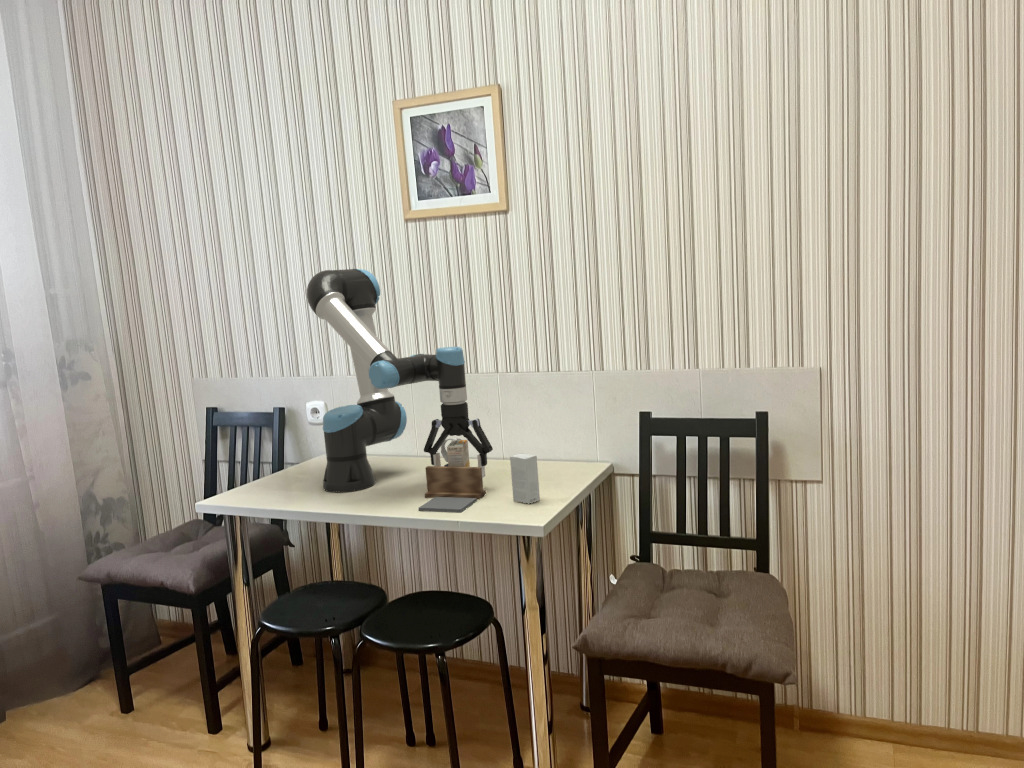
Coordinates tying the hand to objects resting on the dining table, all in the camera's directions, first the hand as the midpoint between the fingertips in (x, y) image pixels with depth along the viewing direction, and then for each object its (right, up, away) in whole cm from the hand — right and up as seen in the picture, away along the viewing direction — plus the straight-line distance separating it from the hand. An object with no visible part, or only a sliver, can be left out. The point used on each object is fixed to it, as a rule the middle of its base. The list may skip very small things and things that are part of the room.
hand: (460, 476), depth 216 cm
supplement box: (0, -3, 0) cm, 4 cm away
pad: (-2, -6, -17) cm, 18 cm away
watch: (-3, -1, +18) cm, 19 cm away
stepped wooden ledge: (-1, -4, -8) cm, 9 cm away
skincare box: (+18, -4, -17) cm, 26 cm away
